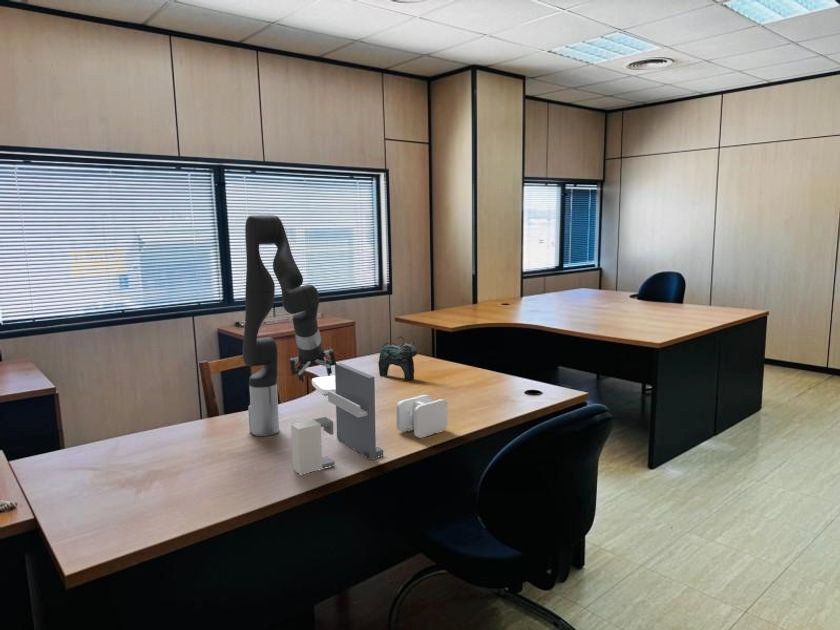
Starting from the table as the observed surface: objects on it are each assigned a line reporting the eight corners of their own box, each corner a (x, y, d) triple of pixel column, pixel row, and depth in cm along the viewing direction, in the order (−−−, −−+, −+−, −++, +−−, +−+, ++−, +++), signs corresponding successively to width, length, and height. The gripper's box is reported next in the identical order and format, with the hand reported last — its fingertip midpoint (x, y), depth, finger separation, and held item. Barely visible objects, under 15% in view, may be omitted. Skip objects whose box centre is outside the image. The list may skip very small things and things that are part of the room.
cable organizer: (415, 441, 190) (415, 408, 189) (395, 433, 198) (395, 400, 196) (448, 431, 200) (448, 399, 198) (427, 423, 208) (427, 392, 206)
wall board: (328, 440, 191) (325, 365, 187) (350, 435, 196) (348, 361, 192) (360, 462, 173) (359, 379, 169) (384, 456, 178) (382, 375, 174)
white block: (293, 469, 169) (291, 424, 167) (326, 460, 175) (325, 416, 173) (300, 475, 165) (298, 429, 163) (334, 466, 171) (333, 421, 169)
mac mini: (310, 383, 262) (310, 378, 261) (356, 378, 271) (356, 372, 271) (323, 396, 242) (323, 390, 242) (372, 390, 251) (372, 384, 251)
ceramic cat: (418, 379, 267) (418, 337, 264) (410, 382, 262) (410, 339, 258) (383, 373, 277) (383, 333, 274) (375, 376, 272) (375, 335, 269)
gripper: (329, 328, 181) (334, 364, 191) (283, 337, 178) (292, 374, 188) (333, 343, 175) (339, 380, 186) (287, 353, 172) (295, 390, 183)
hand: (315, 377), depth 187 cm, fingers open, 8 cm apart
